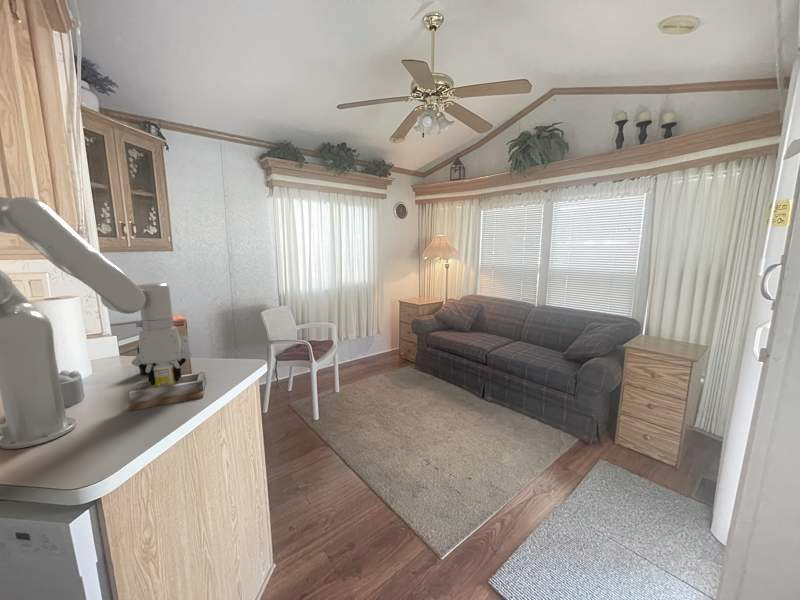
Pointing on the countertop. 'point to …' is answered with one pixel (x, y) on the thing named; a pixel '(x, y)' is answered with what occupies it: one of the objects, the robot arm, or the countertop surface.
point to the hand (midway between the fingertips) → (165, 381)
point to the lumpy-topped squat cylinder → (71, 387)
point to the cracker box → (183, 341)
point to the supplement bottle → (164, 374)
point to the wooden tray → (168, 391)
